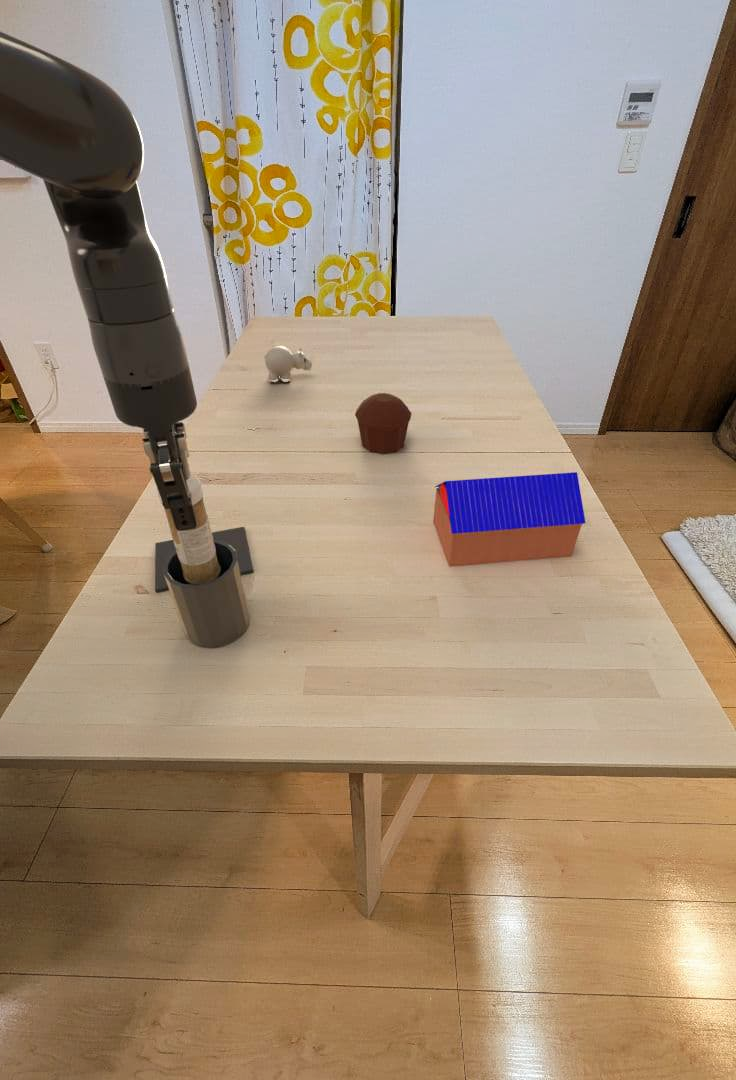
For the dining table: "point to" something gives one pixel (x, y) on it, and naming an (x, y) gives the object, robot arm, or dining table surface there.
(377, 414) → the muffin
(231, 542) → the mat
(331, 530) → the dining table surface
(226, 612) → the cup
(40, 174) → the robot arm
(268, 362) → the chubby cartoon animal
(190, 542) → the sprinkles bottle
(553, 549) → the house
